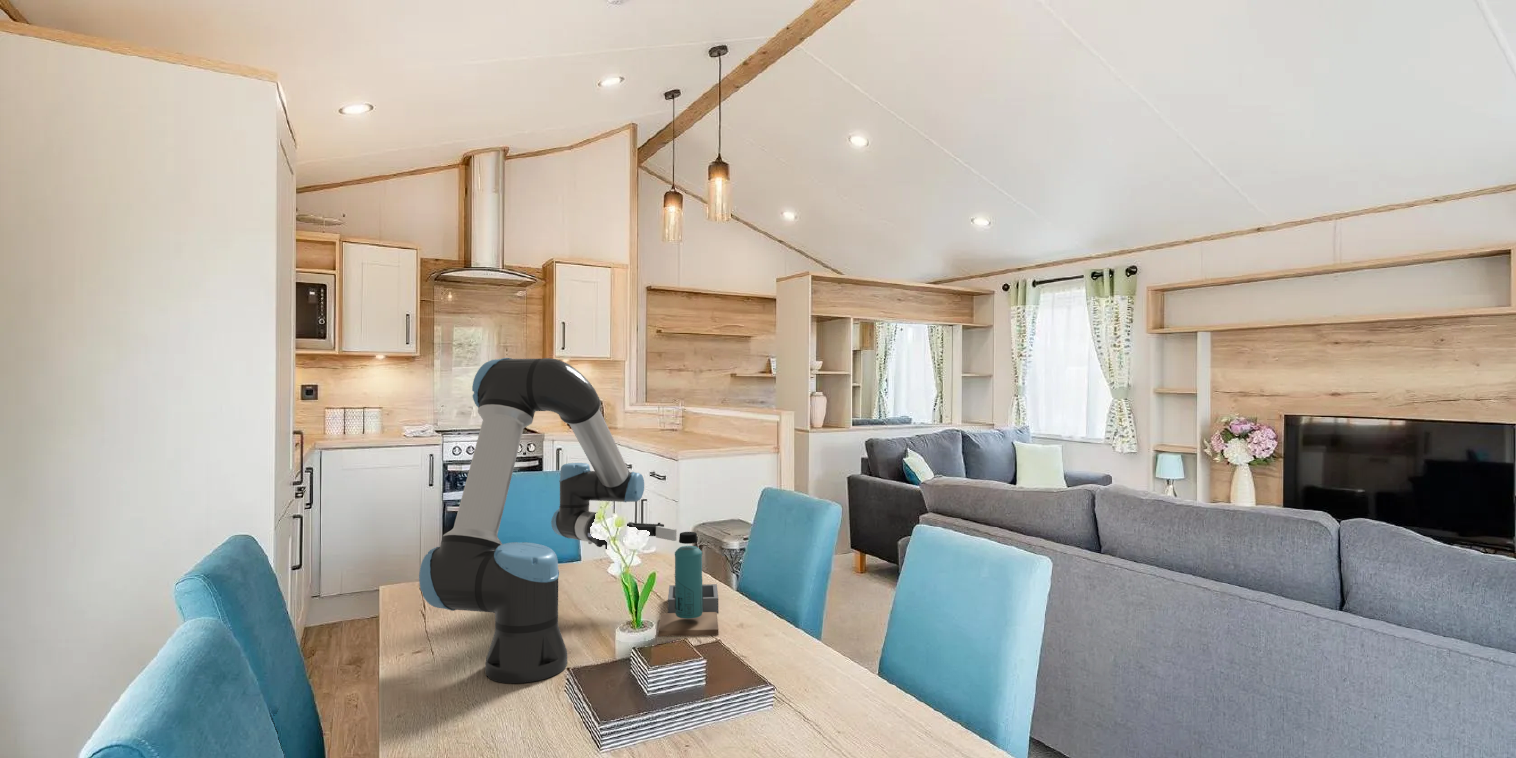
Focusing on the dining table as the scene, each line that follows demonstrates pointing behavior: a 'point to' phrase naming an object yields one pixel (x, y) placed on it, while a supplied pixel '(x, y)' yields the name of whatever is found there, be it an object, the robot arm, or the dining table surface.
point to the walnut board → (688, 625)
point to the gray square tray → (708, 598)
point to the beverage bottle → (688, 578)
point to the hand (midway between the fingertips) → (654, 539)
